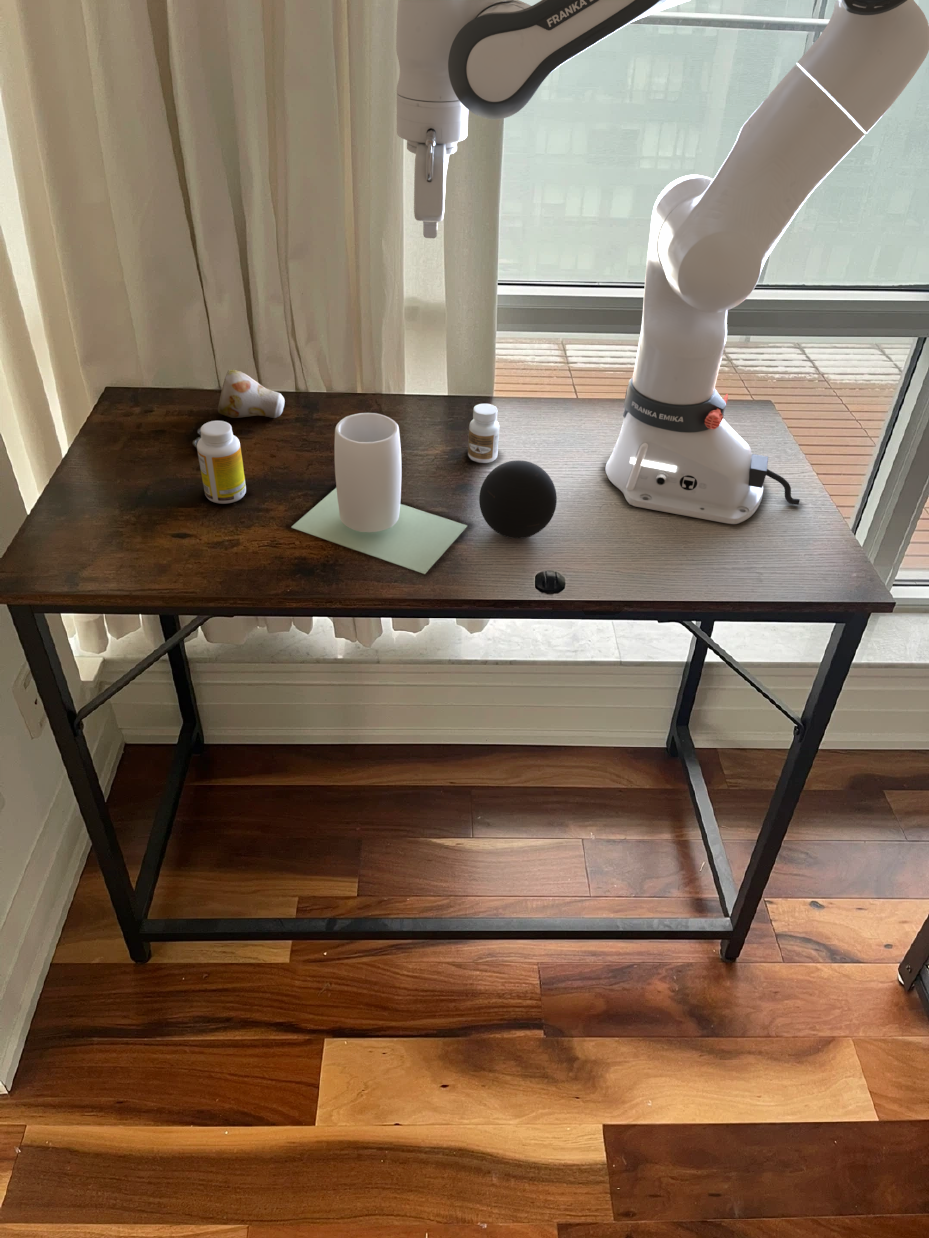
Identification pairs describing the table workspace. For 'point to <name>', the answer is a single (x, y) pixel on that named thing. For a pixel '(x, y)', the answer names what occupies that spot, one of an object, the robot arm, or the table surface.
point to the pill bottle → (483, 434)
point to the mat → (386, 534)
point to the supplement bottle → (221, 463)
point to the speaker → (517, 499)
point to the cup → (368, 471)
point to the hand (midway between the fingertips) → (430, 234)
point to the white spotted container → (248, 398)
